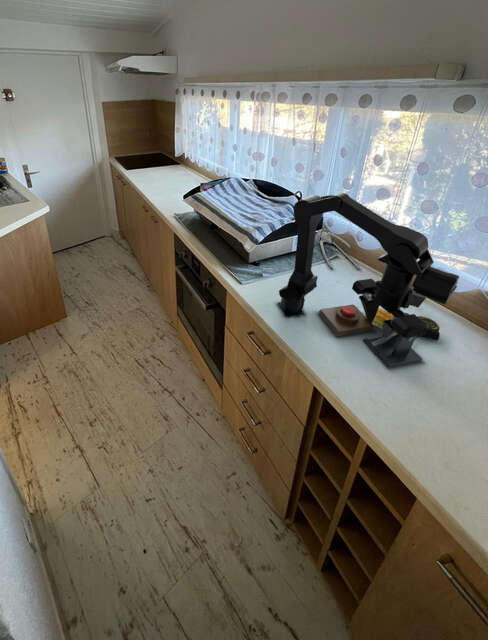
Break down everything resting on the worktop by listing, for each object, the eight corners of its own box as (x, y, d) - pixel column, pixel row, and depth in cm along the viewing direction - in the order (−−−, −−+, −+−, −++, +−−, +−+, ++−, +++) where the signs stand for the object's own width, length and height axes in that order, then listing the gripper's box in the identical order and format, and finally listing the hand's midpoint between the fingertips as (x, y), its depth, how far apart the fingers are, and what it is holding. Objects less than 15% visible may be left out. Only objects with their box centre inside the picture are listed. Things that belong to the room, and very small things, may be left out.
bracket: (388, 367, 82) (400, 341, 77) (366, 342, 89) (375, 317, 85) (421, 361, 83) (434, 335, 78) (396, 337, 91) (406, 312, 86)
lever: (376, 357, 82) (374, 352, 81) (363, 343, 86) (361, 338, 85) (414, 338, 81) (413, 332, 80) (400, 324, 85) (398, 319, 84)
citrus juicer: (351, 246, 118) (323, 219, 145) (326, 257, 120) (303, 228, 148) (360, 268, 121) (332, 238, 149) (336, 279, 124) (312, 247, 151)
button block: (337, 336, 91) (340, 326, 90) (318, 314, 100) (321, 304, 98) (372, 331, 93) (376, 321, 91) (351, 309, 102) (354, 300, 100)
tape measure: (408, 334, 92) (412, 325, 90) (410, 321, 97) (414, 312, 95) (435, 344, 88) (440, 335, 87) (436, 330, 93) (441, 321, 91)
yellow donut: (394, 312, 97) (388, 322, 98) (363, 301, 97) (357, 311, 98) (415, 330, 87) (408, 341, 88) (380, 318, 87) (374, 329, 88)
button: (346, 318, 93) (347, 314, 92) (338, 310, 96) (340, 306, 95) (356, 316, 94) (358, 312, 93) (349, 309, 97) (350, 304, 96)
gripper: (461, 303, 66) (434, 353, 73) (395, 258, 82) (378, 303, 90) (416, 309, 64) (393, 360, 72) (358, 262, 80) (344, 308, 88)
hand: (376, 330), depth 80 cm, fingers open, 5 cm apart
